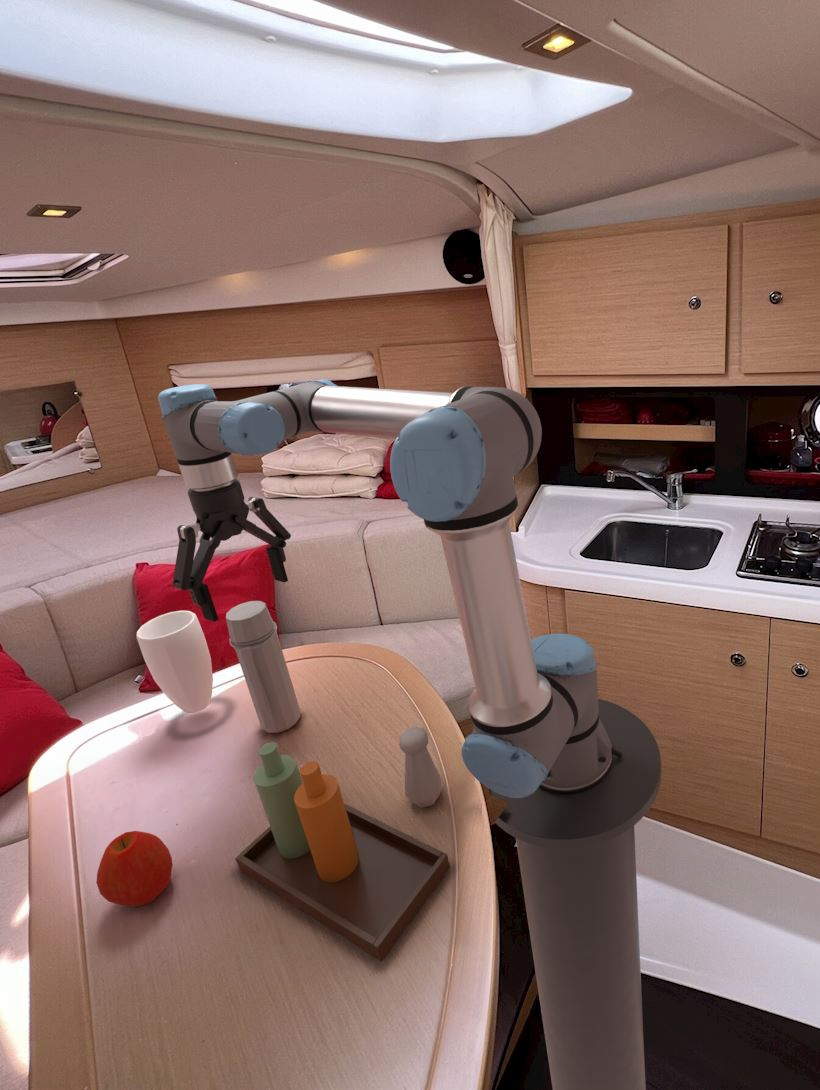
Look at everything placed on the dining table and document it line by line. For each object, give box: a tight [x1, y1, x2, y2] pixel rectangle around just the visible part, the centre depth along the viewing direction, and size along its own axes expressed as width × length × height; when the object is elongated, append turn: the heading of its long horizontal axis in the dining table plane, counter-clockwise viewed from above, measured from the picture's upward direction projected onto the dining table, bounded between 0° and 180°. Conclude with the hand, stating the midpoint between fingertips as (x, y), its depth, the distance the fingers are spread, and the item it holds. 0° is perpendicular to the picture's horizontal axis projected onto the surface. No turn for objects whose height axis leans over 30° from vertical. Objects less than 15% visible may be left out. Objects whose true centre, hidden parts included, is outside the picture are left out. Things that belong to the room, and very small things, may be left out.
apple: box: [95, 830, 173, 907], centre depth 82 cm, size 8×8×11 cm
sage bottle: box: [253, 741, 310, 859], centre depth 86 cm, size 6×6×18 cm
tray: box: [234, 803, 451, 962], centre depth 85 cm, size 28×14×3 cm, turn 61°
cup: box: [136, 610, 214, 714], centre depth 114 cm, size 10×10×22 cm
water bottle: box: [225, 600, 302, 734], centre depth 110 cm, size 9×8×25 cm
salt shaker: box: [398, 725, 443, 809], centre depth 93 cm, size 6×6×13 cm
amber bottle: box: [294, 760, 359, 883], centre depth 82 cm, size 6×6×18 cm
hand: (248, 598), depth 104 cm, fingers open, 13 cm apart
